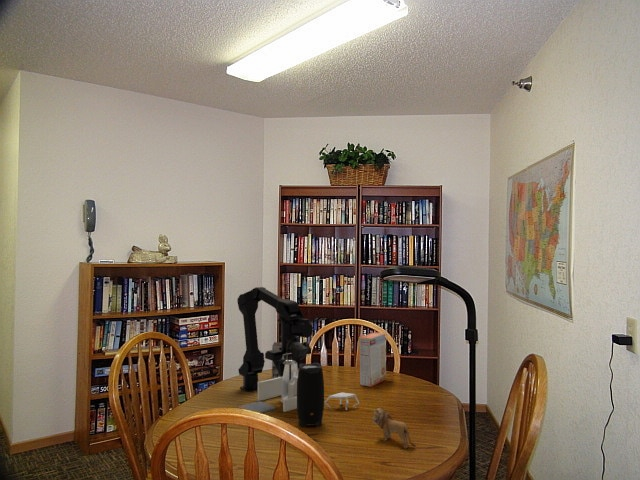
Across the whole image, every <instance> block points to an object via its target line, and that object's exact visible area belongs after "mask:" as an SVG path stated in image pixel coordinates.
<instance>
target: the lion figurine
mask: <svg viewBox="0 0 640 480" xmlns="http://www.w3.org/2000/svg"><path fill="white" fill-rule="evenodd" d="M371 420H372V421H373V423H375V424H376V425H377V426H379V428H380V429H381V430H382V432H383V438H382V439H381V440H382V441H387V440H388V438H391V433H393V434H398V437H399V438H400V440H401V442H402V443H403V444H404V445H403V446H402V447H403V449H404V450H406V449H408V448H409V444H410V445H411V446H412V447H414V448H416V447H417V445H416V444H414V443H413V442H412V441H411V437H410V434H409V433H410V431H409V430H408V425H407V424H406V423H405V422H403V421H399V420H398V421H397V420H396V419H393V417H392V415H391V414H390V413H388V411H386V410H384V409H383V408H380V407H379V408H375V409H374V413H373V416H372V417H371ZM408 441H409V442H408ZM408 443H409V444H408Z"/></svg>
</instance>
